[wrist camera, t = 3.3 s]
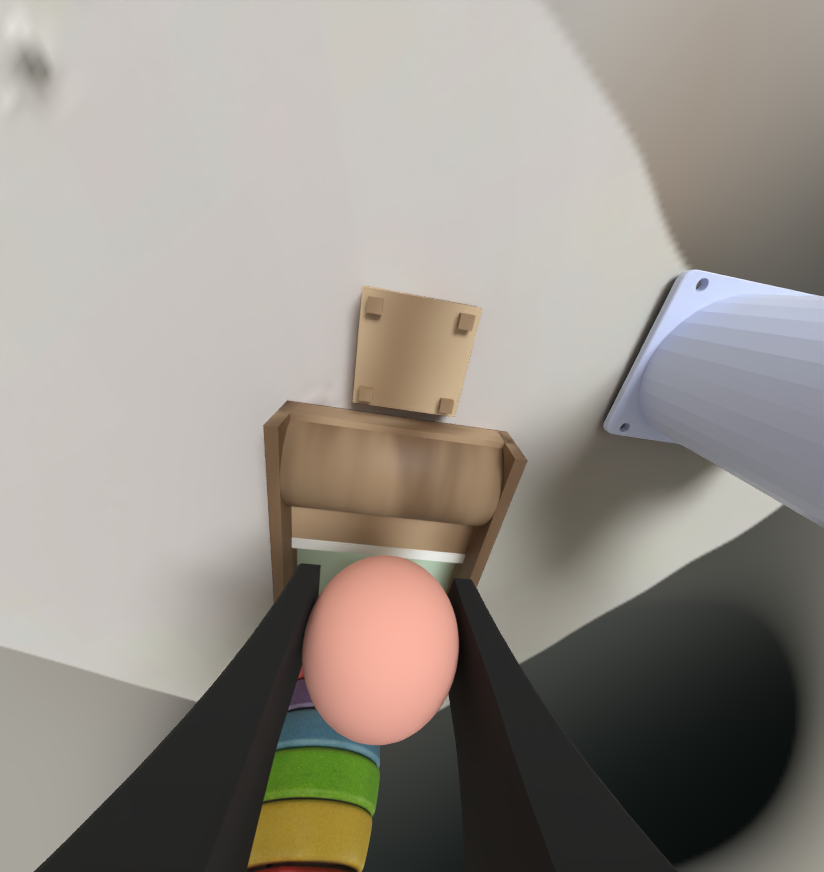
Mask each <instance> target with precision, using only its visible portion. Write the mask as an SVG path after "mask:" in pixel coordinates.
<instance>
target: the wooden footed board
mask: <svg viewBox="0 0 824 872" xmlns="http://www.w3.org/2000/svg"><path fill="white" fill-rule="evenodd" d="M481 312H482V308H479V307H476V306H471V305H466V304H461V303H455V302H450V301H445V300H439V299H434V298H428V297H423V296H418V295H412V294H407V293H402V292H396V291H391V290H385V289H380V288H375V287H369V286H362V297H361V308H360V320H359V332H358V344H357V356H356V368H355V379H354V391H353V403H360V404H367V405H374V406H381V407H388V408H395V409H401V410H408V411H415V412H422V413H429V414H436V415H443V416H450V417H455V415H456V411H457V407H458V403H459V399H460V395H461V391H462V387H463V383H464V379H465V375H466V371H467V367H468V363H469V359H470V356H471V352H472V348H473V344H474V340H475V336H476V332H477V328H478V324H479V320H480V316H481Z"/></svg>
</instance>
